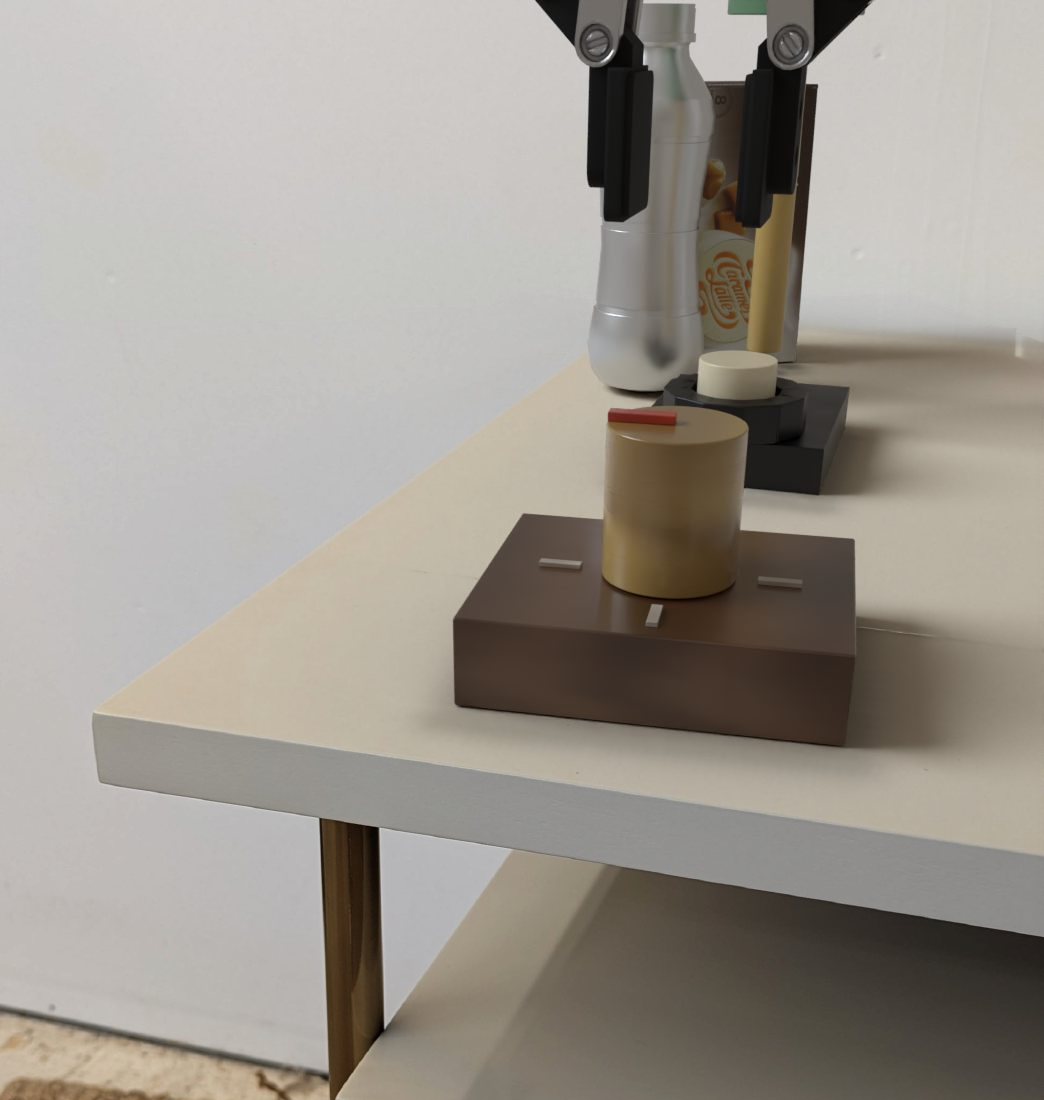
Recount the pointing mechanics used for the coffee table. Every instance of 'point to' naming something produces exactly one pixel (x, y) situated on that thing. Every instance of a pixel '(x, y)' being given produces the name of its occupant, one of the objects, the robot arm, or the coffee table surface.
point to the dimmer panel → (663, 637)
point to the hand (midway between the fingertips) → (689, 212)
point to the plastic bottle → (658, 226)
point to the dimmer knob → (673, 500)
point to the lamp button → (737, 375)
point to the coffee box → (744, 230)
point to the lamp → (769, 249)
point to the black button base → (779, 430)
